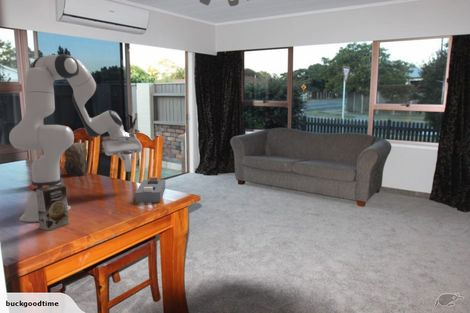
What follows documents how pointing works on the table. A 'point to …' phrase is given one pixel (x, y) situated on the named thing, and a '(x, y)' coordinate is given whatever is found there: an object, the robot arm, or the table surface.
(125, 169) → the plug
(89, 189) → the table surface
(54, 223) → the coffee box
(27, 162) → the table surface
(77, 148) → the owl
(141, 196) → the socket block
